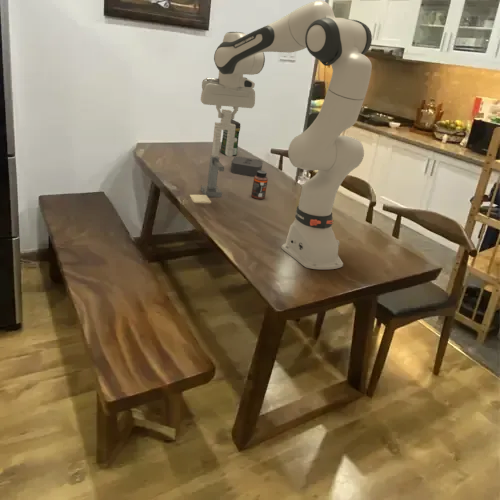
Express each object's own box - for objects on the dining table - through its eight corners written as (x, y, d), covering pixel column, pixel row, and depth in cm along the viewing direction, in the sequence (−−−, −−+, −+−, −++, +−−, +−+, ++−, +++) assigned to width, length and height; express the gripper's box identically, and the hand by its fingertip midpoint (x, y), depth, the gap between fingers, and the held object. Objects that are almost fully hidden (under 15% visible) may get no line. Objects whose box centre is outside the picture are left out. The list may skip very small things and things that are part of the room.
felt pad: (211, 203, 194) (211, 201, 194) (193, 203, 192) (194, 201, 192) (206, 196, 201) (206, 194, 201) (189, 196, 198) (189, 194, 198)
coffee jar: (218, 151, 270) (221, 117, 262) (230, 151, 274) (234, 117, 266) (226, 156, 263) (230, 121, 255) (239, 156, 267) (243, 122, 259)
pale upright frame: (232, 156, 189) (237, 112, 182) (213, 155, 187) (218, 110, 180) (229, 154, 192) (235, 110, 185) (211, 153, 189) (216, 108, 182)
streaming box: (258, 178, 235) (260, 167, 233) (229, 173, 236) (230, 162, 234) (261, 170, 248) (263, 160, 246) (234, 165, 249) (235, 155, 247)
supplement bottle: (263, 200, 206) (267, 174, 201) (249, 197, 207) (253, 172, 202) (266, 196, 211) (270, 171, 206) (252, 193, 212) (256, 168, 207)
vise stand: (226, 203, 197) (231, 164, 190) (209, 202, 194) (213, 164, 188) (216, 190, 209) (220, 154, 203) (200, 190, 207) (204, 153, 200)
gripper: (204, 78, 171) (201, 118, 177) (258, 83, 178) (253, 121, 184) (200, 75, 176) (197, 114, 182) (253, 81, 184) (248, 118, 189)
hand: (226, 118), depth 183 cm, fingers closed on pale upright frame, 3 cm apart
